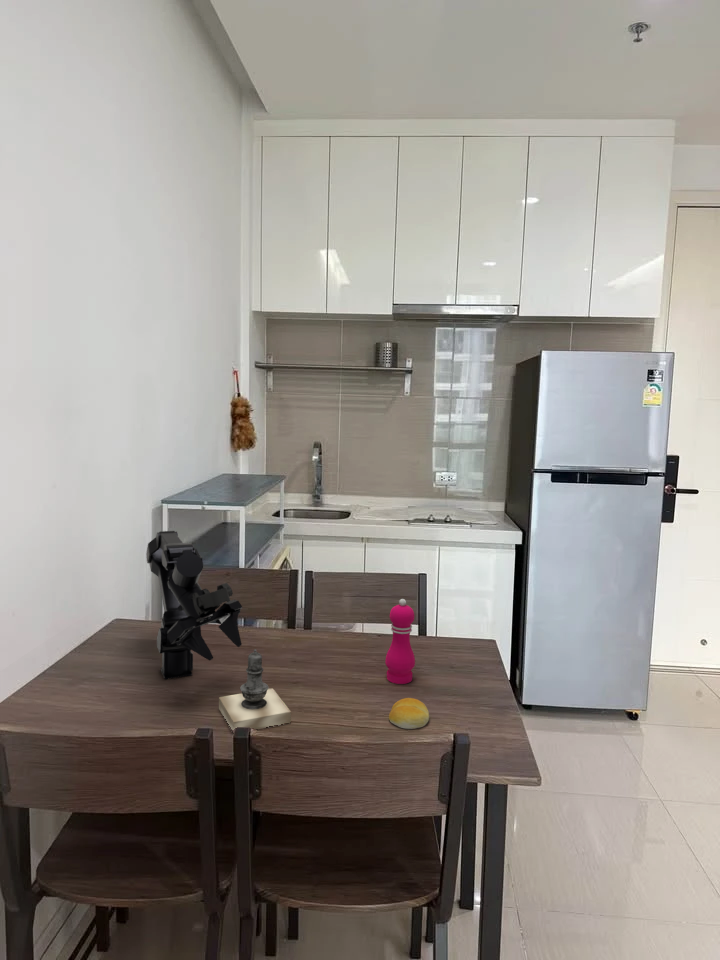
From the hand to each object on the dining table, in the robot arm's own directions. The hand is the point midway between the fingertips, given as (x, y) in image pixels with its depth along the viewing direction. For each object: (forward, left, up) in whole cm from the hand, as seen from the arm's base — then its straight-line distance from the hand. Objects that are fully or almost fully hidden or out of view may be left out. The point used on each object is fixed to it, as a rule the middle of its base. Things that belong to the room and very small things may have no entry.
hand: (226, 652), depth 141 cm
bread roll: (+33, -23, -12) cm, 42 cm away
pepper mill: (+42, -4, -11) cm, 43 cm away
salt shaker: (+4, -9, -9) cm, 13 cm away
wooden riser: (+4, -9, -11) cm, 15 cm away
